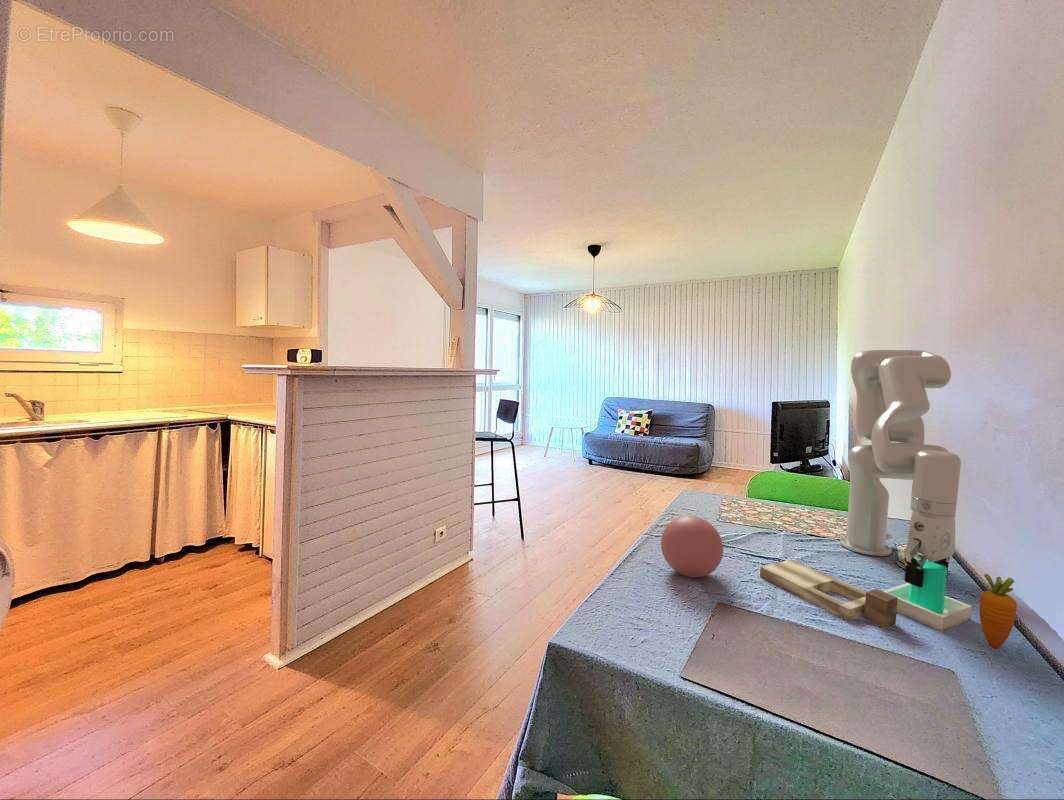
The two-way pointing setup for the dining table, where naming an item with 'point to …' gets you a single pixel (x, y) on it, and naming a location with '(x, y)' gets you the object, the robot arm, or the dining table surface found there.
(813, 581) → the wooden slotted peg board
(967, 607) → the tray
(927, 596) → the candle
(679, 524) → the brown egg
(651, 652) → the dining table surface
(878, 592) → the block
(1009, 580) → the carrot
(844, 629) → the dining table surface
